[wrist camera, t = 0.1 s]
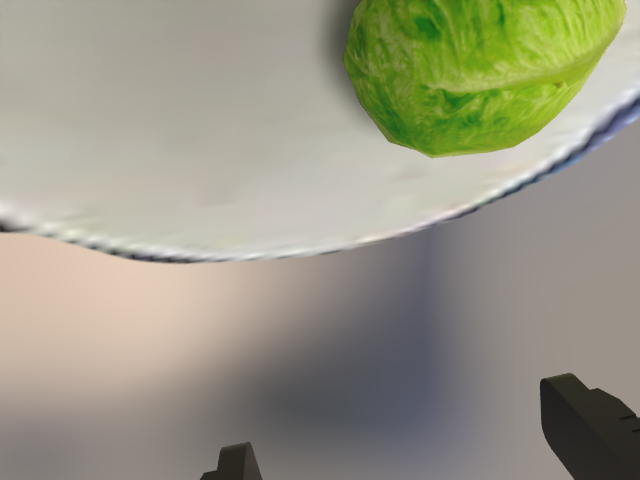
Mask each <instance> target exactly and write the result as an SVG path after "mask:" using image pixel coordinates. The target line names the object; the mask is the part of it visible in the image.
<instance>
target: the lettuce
mask: <svg viewBox="0 0 640 480" xmlns="http://www.w3.org/2000/svg"><path fill="white" fill-rule="evenodd" d="M626 9H627V8H626V4H625V1H624V0H361V2H360V3H359V4H358V6H357V7H356V8H355V10H354V12H353V15H352V19H351V24H350V28H349V33H348V38H347V42H346V47H345V52H344V56H343V63H344V65H345V67H346V70H347V72H348V75H349V77H350V80H351V82H352V85H353V87H354V90H355V92H356V95H357V97H358V99H359V102H360V104H361V105H362V107H363V108H364V109H365V111H366V112H367V113H368V115H369V116H370V117H371V119H372V120H373V121H374V123H375V124H376V125H377V127H378V128H379V129H380V131H381V132H382V133H383V135H384V136H385V137H386V139H387V140H388V141H389V142H391V143H394V144H397V145H401V146H404V147H407V148H411V149H414V150H417V151H419V152H421V153H423V154H425V155H427V156H429V157H431V158H438V157H448V156H458V155H468V154H478V153H488V152H493V151H497V150H502V149H506V148H511V147H515V146H516V145H518V144H520V143H521V142H523V141H524V140H526V139H528V138H529V137H531V136H533V135H534V134H536V133H538V132H539V131H540V130H541V129H542V128H543V127H545V126H546V125H547V124H548V123H549V122H550V121H551V120H552V119H554V118H555V117H556V116H557V115H558V114H559V113H560V112H561V110H562V109H563V108H564V107H565V106H566V105H567V104H568V103H569V102H570V101H571V100H572V99H573V97H574V96H575V95H576V94H577V93H578V92H579V91H580V89H581V88H582V86H583V85H584V83H585V82H586V80H587V79H588V77H589V76H590V74H591V73H592V71H593V69H594V68H595V66H596V65H597V63H598V62H599V60H600V58H601V57H602V55H603V54H604V52H605V51H606V49H607V48H608V47H609V45H610V44H611V42H612V41H613V40H614V38H615V37H616V35H617V33H618V31H619V30H620V28H621V26H622V23H623V20H624V17H625V13H626Z"/></svg>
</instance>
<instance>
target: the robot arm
mask: <svg viewBox="0 0 640 480" xmlns="http://www.w3.org/2000/svg"><path fill="white" fill-rule="evenodd" d="M540 398H541V399H540V400H541V423H542V429H543V433H544V435H545V438H546V440H547V442H548V444H549V446H550V447H551V449H552V450H553V452H554V453H555V454H556V455H557V457H558V458H559V460H560V461H561V462H562V463H563V465H564V466H565V467H566V469H567V470H568V472H569V473H570V474H571V476H572V477H573V478H574V480H640V418H637V416H636V414H635V413H634V412H633V411H632V410H631V409H630V408H628V407H627V406H626V405H625V404H624V403H623V402H622V401H621V400H620V399H618V398H616V397H614V396H612V395H610V394H608V393H606V392H604V391H602V390H600V389H599V388H596V389H592V390H589V389H588V388H587V387H586V386H585V385H584V384H583V383H582V382H581V381H580V380H579V379H578V378H577V377H576V376H575V375H573V374H571V373H567V374H562V375H558V376H553V377H549V378H544V379H542V380H541V382H540ZM200 480H262V477H261V474H260V471H259V467H258V464H257V461H256V458H255V455H254V451H253V448H252V446H251V444H250V442H246V443H241V444H236V445H231V446H227V447H223V448H222V449H221V451H220V456H219V461H218V467H217V470H216V471H211V472H207V473H204V474H203V476H202V477H201V479H200Z"/></svg>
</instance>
